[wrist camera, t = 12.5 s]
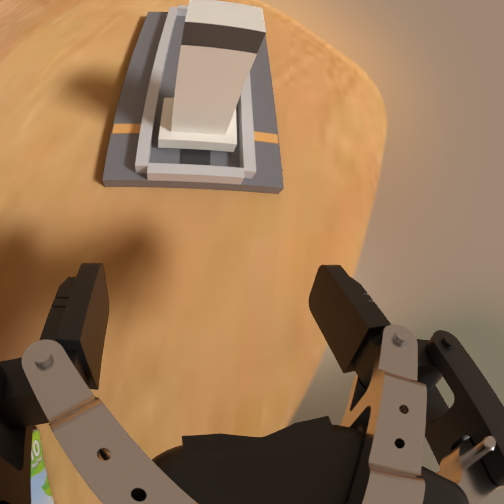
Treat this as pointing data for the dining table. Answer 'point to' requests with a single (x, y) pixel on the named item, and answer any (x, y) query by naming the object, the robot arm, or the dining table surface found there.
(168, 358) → the dining table surface
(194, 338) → the dining table surface
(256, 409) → the dining table surface
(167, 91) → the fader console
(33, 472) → the snack box
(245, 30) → the fader tab
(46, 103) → the dining table surface
